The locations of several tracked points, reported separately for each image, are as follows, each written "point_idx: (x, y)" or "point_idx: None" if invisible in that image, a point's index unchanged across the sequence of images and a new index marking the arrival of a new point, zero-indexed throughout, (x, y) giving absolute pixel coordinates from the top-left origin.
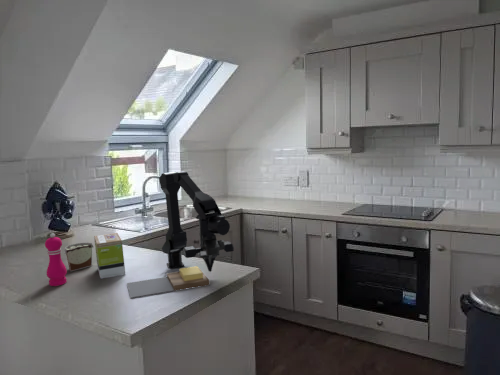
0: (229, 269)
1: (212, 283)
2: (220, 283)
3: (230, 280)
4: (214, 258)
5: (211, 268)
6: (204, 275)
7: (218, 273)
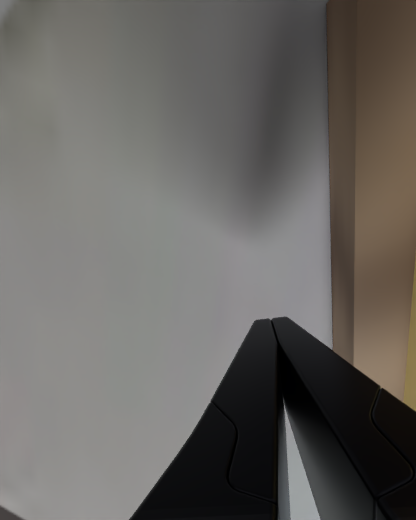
0: (54, 438)
1: (269, 67)
2: (160, 24)
3: (25, 111)
4: (156, 516)
5: (252, 337)
6: (369, 235)
7: (160, 380)
